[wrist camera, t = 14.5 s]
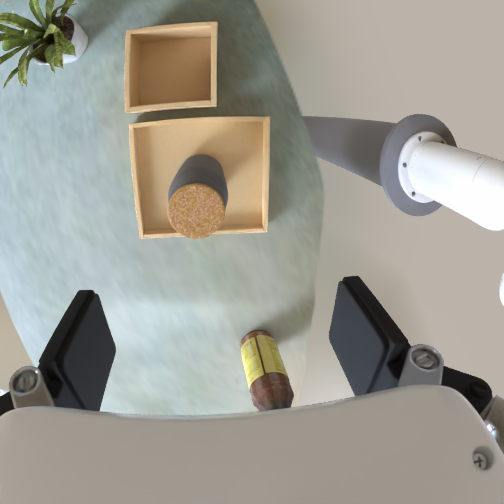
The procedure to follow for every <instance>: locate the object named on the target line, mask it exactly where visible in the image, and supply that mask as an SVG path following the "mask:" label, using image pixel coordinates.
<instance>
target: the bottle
mask: <svg viewBox="0 0 504 504" xmlns="http://www.w3.org/2000/svg"><path fill="white" fill-rule="evenodd" d="M227 202H228V189H227V184H226V180H225V176H224V172H223V169H222V167H221V165H220V163H219V162H218V161H217V160H216V159H215V158H213V157H211V156H209V155H205V154H199V155H194V156H192V157H190V158H188V159H187V160H186V161H185V162H184V163H183V164H182V165H181V167H180V168H179V170H178V172H177V174H176V175H175V177H174V179H173V181H172V183H171V185H170V187H169V191H168V209H167V214H168V219H169V222H170V223H171V225H172V227H173V228H174V229H175V230H176V231H177V232H178V233H180V234H181V235H183V236H185V237H188V238H194V239H198V238H204V237H207V236H209V235H211V234H213V233H214V232H215V231H216V230H217V229H218V228H219V227H220V226H221V224H222V222H223V220H224V216H225V210H226V206H227Z"/></svg>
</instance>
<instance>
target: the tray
mask: <svg viewBox="0 0 504 504" xmlns="http://www.w3.org/2000/svg"><path fill="white" fill-rule="evenodd" d="M129 137H130V153H131V166H132V178H133V188H134V197H135V206H136V214H137V222H138V229H139V236H140V239H144V238H161V237H178V236H183V235H181V234H180V233H178V232H177V231H176V230H175V229H174V228H173V227H172V225H171V223H170V222H169V219H168V214H167V209H168V191H169V187H170V185H171V183H172V181H173V179H174V177H175V175H176V174H177V172H178V170H179V168H180V167H181V165H182V164H183V163H184V162H185V161H186V160H187V159H188V158H190V157H192V156H194V155H199V154H205V155H209V156H211V157H213V158H215V159H216V160H217V161H218V162H219V163H220V165H221V167H222V169H223V172H224V176H225V180H226V184H227V189H228V202H227V206H226V210H225V216H224V220H223V222H222V224H221V226H220V227H219V228H218V229H217V230H216V231H215V232H214V233H213V234H211V235H215V234H235V233H257V232H268V201H269V155H270V117H262V116H230V117H200V118H183V119H170V120H159V121H149V122H140V123H132V124H129Z"/></svg>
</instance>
